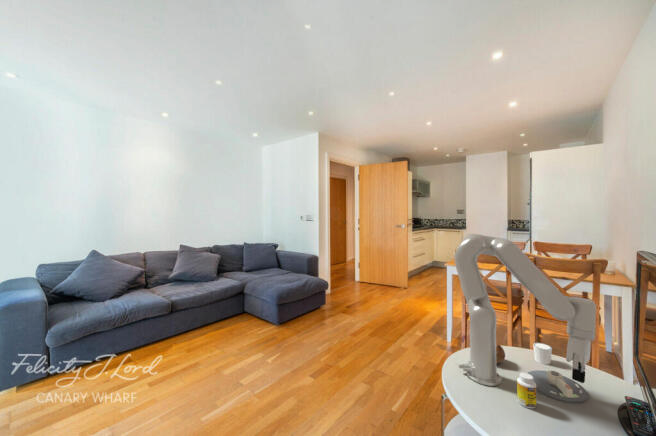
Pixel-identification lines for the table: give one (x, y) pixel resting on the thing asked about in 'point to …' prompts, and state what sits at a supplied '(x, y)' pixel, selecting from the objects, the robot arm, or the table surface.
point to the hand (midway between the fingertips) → (578, 380)
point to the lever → (559, 383)
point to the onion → (499, 354)
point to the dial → (554, 391)
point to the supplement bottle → (526, 390)
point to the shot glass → (542, 353)
